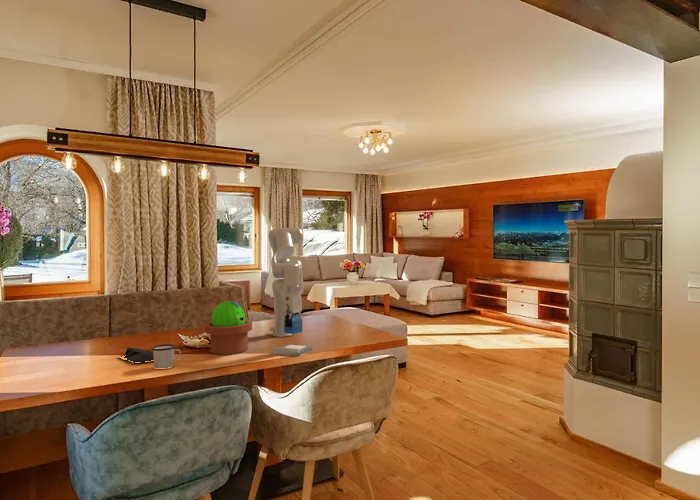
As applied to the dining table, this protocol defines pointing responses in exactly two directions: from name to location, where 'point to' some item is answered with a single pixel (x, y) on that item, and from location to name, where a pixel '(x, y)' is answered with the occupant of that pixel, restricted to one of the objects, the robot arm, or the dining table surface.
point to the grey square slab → (291, 350)
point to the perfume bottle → (294, 325)
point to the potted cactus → (228, 329)
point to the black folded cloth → (138, 355)
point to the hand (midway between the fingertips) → (293, 325)
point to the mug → (164, 355)
